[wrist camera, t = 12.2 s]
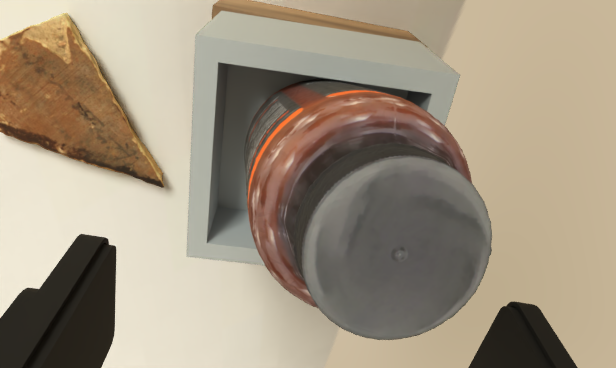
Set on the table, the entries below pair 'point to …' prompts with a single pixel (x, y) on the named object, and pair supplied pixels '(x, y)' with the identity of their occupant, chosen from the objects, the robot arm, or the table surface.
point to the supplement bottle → (364, 208)
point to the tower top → (264, 83)
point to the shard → (67, 101)
